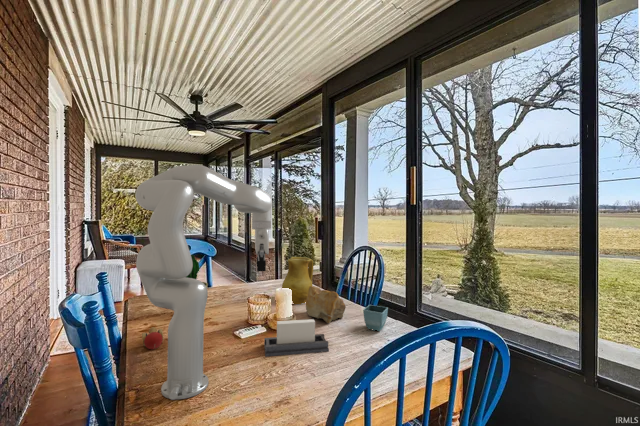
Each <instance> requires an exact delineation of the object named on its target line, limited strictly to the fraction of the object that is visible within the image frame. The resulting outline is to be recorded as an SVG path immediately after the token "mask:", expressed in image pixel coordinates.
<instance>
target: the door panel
mask: <svg viewBox="0 0 640 426" xmlns="http://www.w3.org/2000/svg"><path fill="white" fill-rule="evenodd" d="M315 334H316V321H315V319H314V318H312V319H297V320H296V319H294V320H292V319H291V320H279V321H278V320H277V321H276V337H277V344H287V343H301V342H315Z"/></svg>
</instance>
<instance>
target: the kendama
mask: <svg viewBox="0 0 640 426" xmlns="http://www.w3.org/2000/svg"><path fill="white" fill-rule="evenodd" d="M141 338H142V339H141V341H142V344H143V347H146V349H148V350H156V349H158V348H159V347H161V345H162V344H163V341H164V332H163V329H162V328H160V329H157V327H155V326H152V327H150V328H149V330H148V333H147V332H143V333H142V334H141Z"/></svg>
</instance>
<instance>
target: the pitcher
mask: <svg viewBox="0 0 640 426" xmlns="http://www.w3.org/2000/svg"><path fill="white" fill-rule="evenodd" d="M287 262H288V270H287V274H286V275H285V278H284V279H283V281H282V284H281V289H282V288H289V289H291V290H292V301H293V303H294V304H300V305H302V304H301V303H305V302H306V299H307V297H308V291H309V287H310V286H313V275H314V260H313V259H311V258H309V257H304V256H291V257H290V258H289V259H287Z"/></svg>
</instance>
